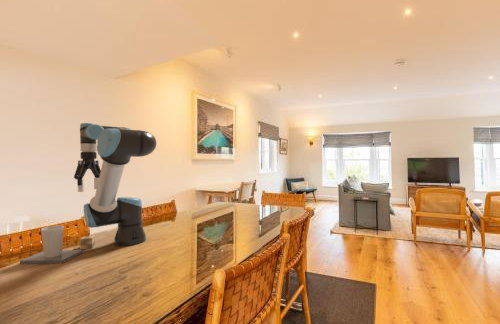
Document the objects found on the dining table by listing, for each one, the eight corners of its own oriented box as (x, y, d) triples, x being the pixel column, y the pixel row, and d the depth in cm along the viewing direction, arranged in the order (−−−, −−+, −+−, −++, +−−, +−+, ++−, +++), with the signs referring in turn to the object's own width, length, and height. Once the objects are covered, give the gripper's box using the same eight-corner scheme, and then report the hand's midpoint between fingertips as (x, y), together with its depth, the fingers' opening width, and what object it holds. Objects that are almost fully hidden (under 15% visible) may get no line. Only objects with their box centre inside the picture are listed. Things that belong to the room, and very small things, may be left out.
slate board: (82, 252, 123) (82, 250, 123) (62, 263, 110) (61, 260, 110) (45, 252, 123) (45, 250, 123) (20, 263, 110) (20, 260, 110)
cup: (52, 258, 112) (51, 230, 112) (36, 257, 114) (36, 229, 114) (68, 252, 120) (68, 225, 120) (54, 251, 121) (53, 225, 121)
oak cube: (94, 245, 134) (94, 235, 134) (92, 248, 129) (92, 238, 129) (83, 246, 132) (83, 236, 132) (80, 249, 128) (80, 239, 128)
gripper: (95, 152, 158) (96, 188, 158) (65, 150, 133) (66, 193, 133) (108, 152, 158) (108, 188, 158) (79, 150, 133) (80, 192, 133)
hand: (89, 190), depth 145 cm, fingers open, 13 cm apart
